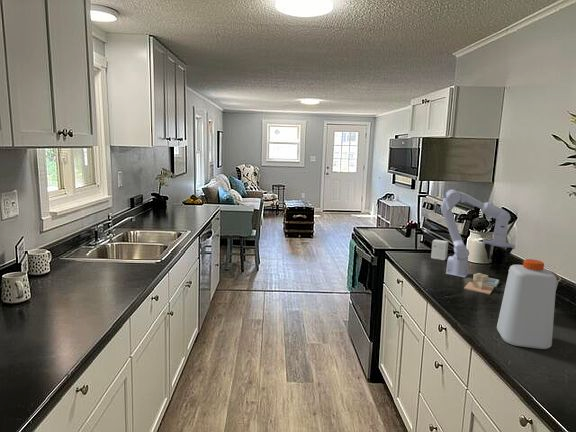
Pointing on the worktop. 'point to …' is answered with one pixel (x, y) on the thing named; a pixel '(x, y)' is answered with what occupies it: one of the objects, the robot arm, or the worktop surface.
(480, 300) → the worktop surface
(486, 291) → the mat
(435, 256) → the small box
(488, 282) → the holder
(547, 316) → the plastic bottle
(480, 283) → the birch block
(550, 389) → the worktop surface
